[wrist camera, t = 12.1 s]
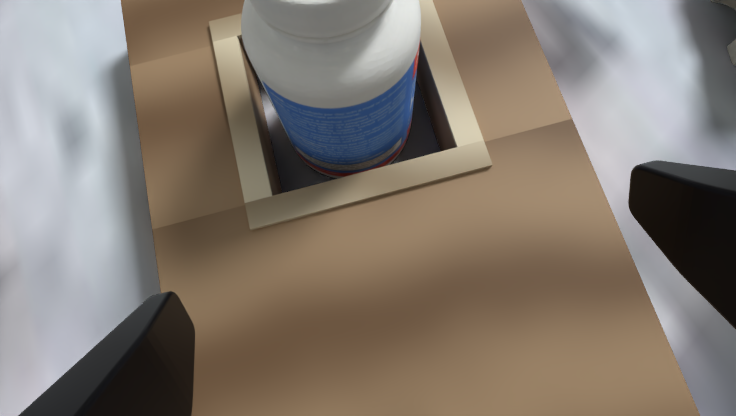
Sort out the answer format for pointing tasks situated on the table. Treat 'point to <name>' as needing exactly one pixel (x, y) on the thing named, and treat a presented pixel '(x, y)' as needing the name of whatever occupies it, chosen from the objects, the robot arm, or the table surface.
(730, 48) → the egg carton
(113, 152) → the table surface
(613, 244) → the socket board
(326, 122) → the pill bottle
